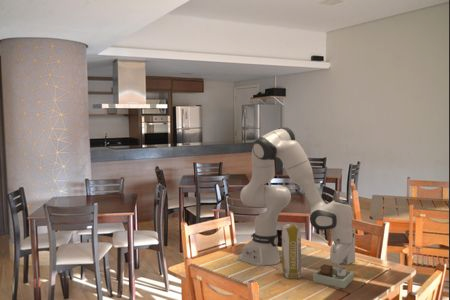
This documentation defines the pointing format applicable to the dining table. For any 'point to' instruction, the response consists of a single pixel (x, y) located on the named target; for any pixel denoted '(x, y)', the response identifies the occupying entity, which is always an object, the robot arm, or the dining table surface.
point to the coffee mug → (279, 235)
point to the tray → (333, 279)
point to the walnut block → (327, 270)
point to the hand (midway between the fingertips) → (341, 267)
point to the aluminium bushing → (341, 273)
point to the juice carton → (291, 251)
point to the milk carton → (352, 254)
